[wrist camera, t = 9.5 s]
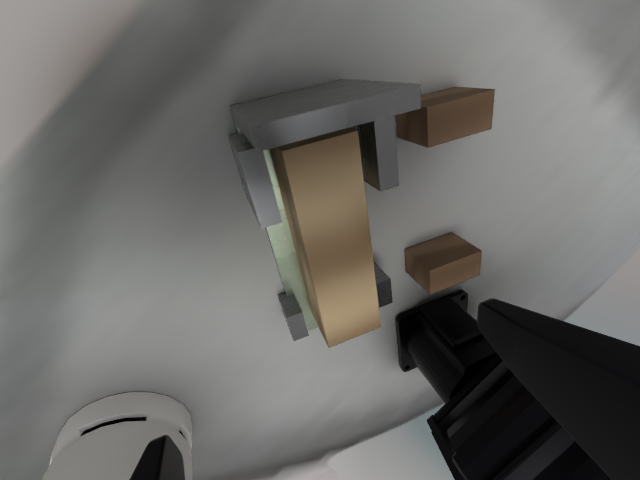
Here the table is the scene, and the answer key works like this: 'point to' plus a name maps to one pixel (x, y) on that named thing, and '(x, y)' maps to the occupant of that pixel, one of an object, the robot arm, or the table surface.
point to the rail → (330, 231)
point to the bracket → (306, 122)
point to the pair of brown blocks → (429, 130)
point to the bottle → (118, 437)
